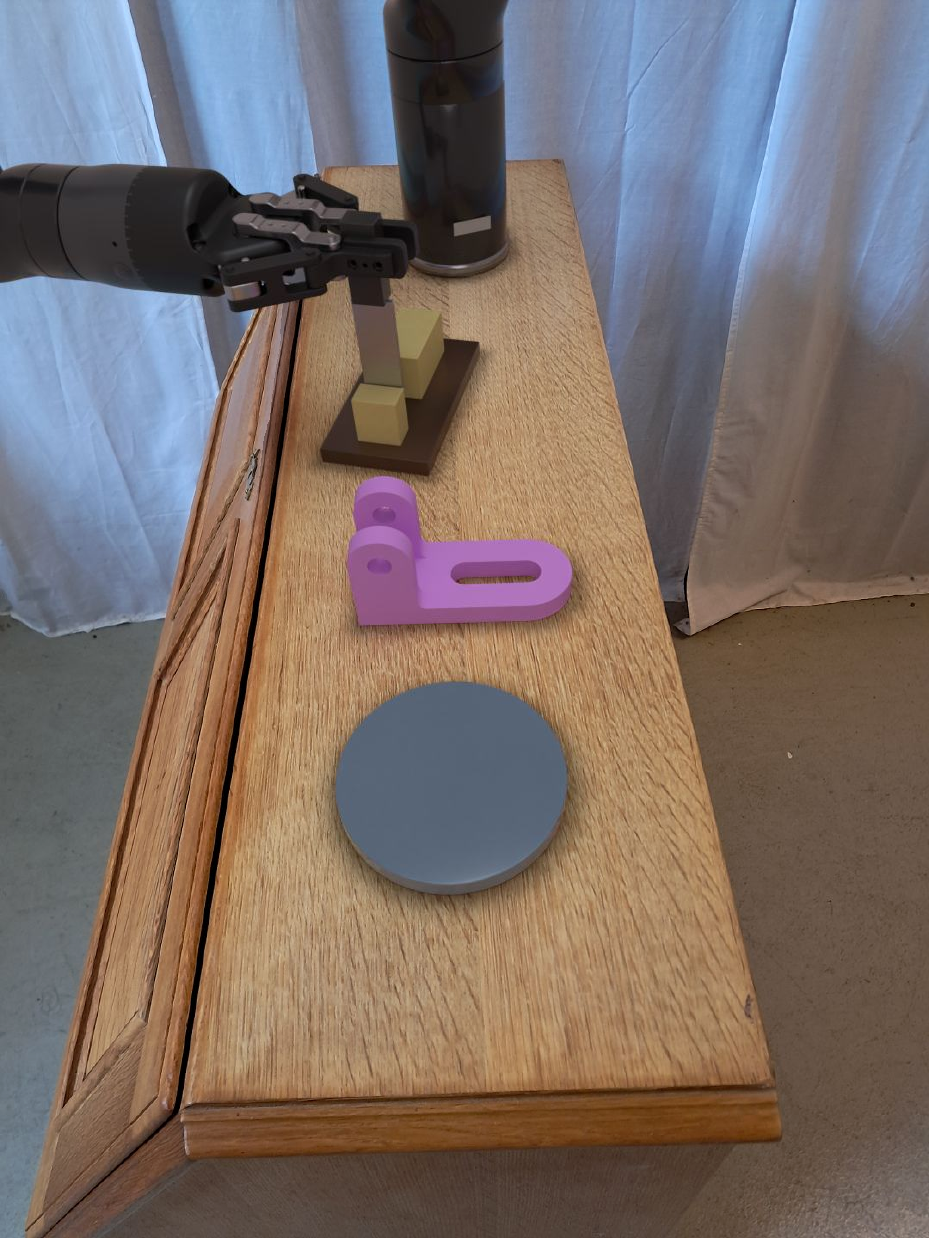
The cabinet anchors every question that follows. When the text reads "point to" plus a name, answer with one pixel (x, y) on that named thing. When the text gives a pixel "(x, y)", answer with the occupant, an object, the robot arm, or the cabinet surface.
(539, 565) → the bracket
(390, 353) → the knife
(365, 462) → the board
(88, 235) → the robot arm
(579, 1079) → the cabinet surface
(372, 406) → the butter slice
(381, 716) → the plate
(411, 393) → the butter
